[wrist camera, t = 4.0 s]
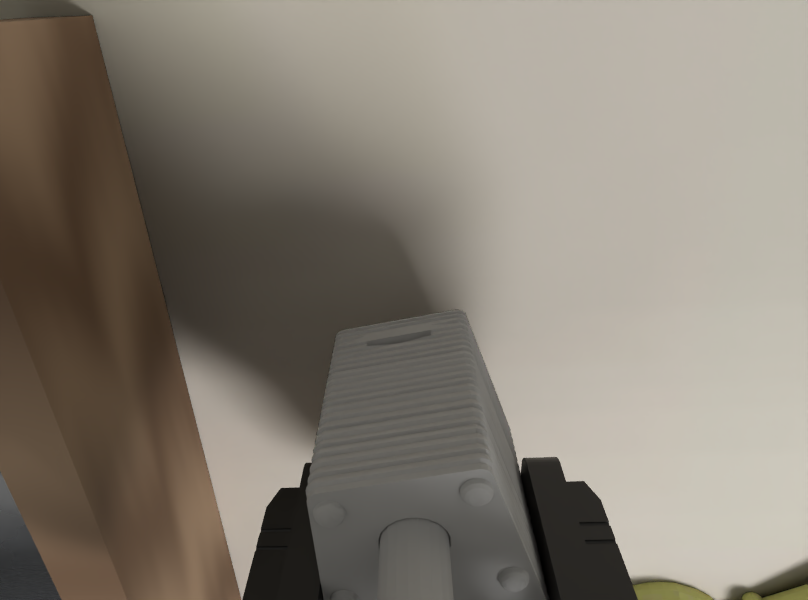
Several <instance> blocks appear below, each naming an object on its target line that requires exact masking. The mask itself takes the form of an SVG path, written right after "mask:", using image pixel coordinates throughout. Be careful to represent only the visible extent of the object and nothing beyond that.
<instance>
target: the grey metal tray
mask: <svg viewBox="0 0 808 600" xmlns="http://www.w3.org/2000/svg"><path fill="white" fill-rule="evenodd" d="M0 600H62V599H61V597H60V595H59V593H58V591H57V589H56V587H55V585H54V583H53V581H52V578H51V576H50V574H49V572H48V570H47V568H46V566H45V564H44V562H43V560H42V558H41V555H40V553H39V551H38V549H37V547H36V545H35V543H34V541H33V539H32V537H31V535H30V532H29V530H28V528H27V526H26V524H25V522H24V520H23V518H22V516H21V514H20V511H19V509H18V507H17V505H16V503H15V501H14V499H13V497H12V495H11V493H10V491H9V488H8V486H7V484H6V482H5V480H4V478H3V476H2V474H1V472H0Z"/></svg>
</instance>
